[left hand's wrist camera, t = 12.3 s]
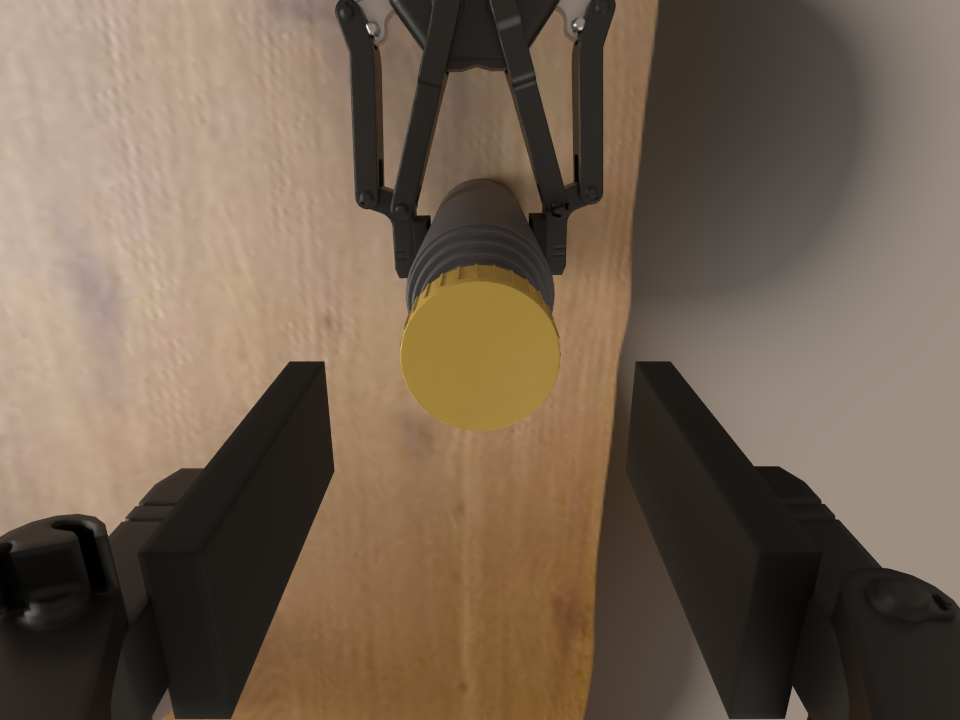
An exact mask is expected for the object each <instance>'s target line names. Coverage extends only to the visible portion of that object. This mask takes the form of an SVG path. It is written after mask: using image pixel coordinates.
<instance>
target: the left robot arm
mask: <svg viewBox="0 0 960 720" xmlns="http://www.w3.org/2000/svg"><path fill="white" fill-rule="evenodd" d="M333 473H334V461H333V450H332V439H331V428H330V418H329V407H328V396H327V385H326V374H325V363H324V362H289V363H288V364H287V365H286V367H285V368H284V369H283V370H282V372H281V373H280V374H279V375H278V377H277V378H276V379H275V380H274V382H273V383H272V384H271V385H270V387H269V388H268V389H267V390H266V392H265V393H264V394H263V396H262V397H261V398H260V399H259V401H258V402H257V403H256V404H255V406H254V407H253V408H252V409H251V411H250V412H249V413H248V414H247V416H246V417H245V418H244V419H243V421H242V422H241V423H240V424H239V426H238V427H237V428H236V429H235V431H234V432H233V433H232V434H231V436H230V437H229V438H228V439H227V441H226V442H225V443H224V444H223V446H222V447H221V448H220V449H219V451H218V452H217V453H216V454H215V456H214V457H213V458H212V459H211V461H210V462H209V463H208V464H207V466H206V467H205V468H204V469H180V470H178V471H177V472H175V473H173V474H172V475H170V476H168V477H167V478H165V479H163V480H162V481H160V482H159V483H157V484H155V486H154V487H153V488H152V489H151V490H150V491H149V492H148V493H147V494H146V496H145V497H144V498H143V499H142V500H141V501H140V502H139V506H136V507H135V508H134V509H133V510H132V511H131V512H130V513H129V515H128V516H127V517H126V518H125V522H121V523H120V525H119V526H118V527H117V528H116V529H115V530H114V531H113V532H112V533H111V535H110V536H109V537H108V534H107V530H106V526H105V524H104V523H103V522H102V521H100V520H99V519H97V518H96V517H93V516H87V515H81V514H73V515H60V516H54V517H50V518H46V519H42V520H38V521H34V522H31V523H29V524H26V525H24V526H21V527H19V528H17V529H14V530H12V531H10V532H8V533H6V534H4V535H3V536H1V537H0V720H162V719H163V718H164V717H165V716H166V715H167V714H168V713H169V712H170V711H171V710H172V709H173V712H174V716H175V719H231V717H232V715H233V712H234V710H235V707H236V705H237V703H238V700H239V698H240V695H241V693H242V691H243V688H244V686H245V684H246V681H247V679H248V676H249V674H250V672H251V669H252V667H253V664H254V662H255V660H256V657H257V655H258V652H259V650H260V648H261V645H262V643H263V640H264V638H265V636H266V633H267V631H268V629H269V626H270V624H271V621H272V619H273V617H274V614H275V612H276V609H277V607H278V605H279V602H280V600H281V597H282V595H283V593H284V590H285V588H286V585H287V583H288V581H289V578H290V576H291V574H292V571H293V569H294V566H295V564H296V562H297V559H298V557H299V554H300V552H301V550H302V547H303V545H304V542H305V540H306V538H307V535H308V533H309V530H310V528H311V526H312V523H313V521H314V519H315V516H316V514H317V511H318V509H319V507H320V504H321V502H322V499H323V497H324V495H325V492H326V490H327V487H328V485H329V483H330V480H331V478H332V475H333ZM626 473H627V475H628V478H629V480H630V483H631V485H632V487H633V490H634V492H635V495H636V497H637V499H638V502H639V504H640V506H641V509H642V511H643V514H644V516H645V518H646V521H647V523H648V526H649V528H650V530H651V533H652V535H653V538H654V540H655V542H656V545H657V547H658V550H659V552H660V554H661V557H662V559H663V562H664V564H665V566H666V569H667V571H668V574H669V576H670V578H671V581H672V583H673V585H674V588H675V590H676V593H677V595H678V597H679V600H680V602H681V605H682V607H683V609H684V612H685V614H686V617H687V619H688V621H689V624H690V626H691V629H692V631H693V633H694V636H695V638H696V640H697V643H698V645H699V648H700V650H701V652H702V655H703V657H704V660H705V662H706V664H707V667H708V669H709V672H710V674H711V676H712V679H713V681H714V684H715V686H716V688H717V690H718V693H719V695H720V698H721V700H722V703H723V705H724V707H725V710H726V712H727V715H728V717H729V719H785V716H786V712H787V707H788V703H789V698H790V694H791V690H792V685H793V687H794V689H795V691H796V692H797V694H798V696H799V698H800V700H801V701H802V703H803V705H804V707H805V709H806V710H807V712H808V718H807V720H960V608H959V607H958V605H957V604H956V603H955V601H954V600H953V599H951V598H950V597H948V596H947V595H946V594H944V593H943V592H942V591H940V590H939V589H938V588H936V587H935V586H933V585H931V584H929V583H927V582H925V581H923V580H921V579H919V578H917V577H914V576H912V575H909V574H906V573H902V572H899V571H895V570H892V569H887V568H882V567H881V566H880V565H879V564H878V563H877V561H876V560H875V559H874V558H873V557H872V556H871V555H870V554H869V553H868V552H867V550H866V549H865V548H864V547H863V546H862V545H861V544H860V543H859V542H858V540H857V539H856V538H855V537H854V536H853V535H852V534H851V533H850V532H849V530H848V529H847V528H846V527H845V526H844V525H843V524H842V523H841V522H840V521H839V520H836V519H835V515H834V514H833V513H832V512H831V511H830V510H829V508H828V507H827V506H826V505H825V504H822V503H821V499H820V498H819V497H818V496H817V495H816V494H815V493H814V492H813V491H812V490H811V488H810V487H809V486H808V485H807V484H806V483H805V482H804V481H802V480H800V479H799V478H797V477H795V476H794V475H792V474H791V473H789V472H787V471H786V470H784V469H782V468H781V467H779V466H753V465H752V463H751V462H750V461H749V460H748V458H747V457H746V456H745V454H744V453H743V452H742V451H741V449H740V448H739V447H738V446H737V444H736V443H735V442H734V441H733V439H732V438H731V437H730V436H729V434H728V433H727V432H726V431H725V429H724V428H723V427H722V426H721V424H720V423H719V422H718V421H717V419H716V418H715V417H714V416H713V414H712V413H711V412H710V411H709V409H708V408H707V407H706V406H705V404H704V403H703V402H702V401H701V399H700V398H699V397H698V396H697V394H696V393H695V392H694V391H693V389H692V388H691V387H690V386H689V384H688V383H687V382H686V381H685V379H684V378H683V377H682V375H681V374H680V373H679V372H678V370H677V369H676V368H675V367H674V365H673V364H672V363H671V362H636V364H635V374H634V385H633V396H632V407H631V418H630V428H629V439H628V450H627V461H626Z"/></svg>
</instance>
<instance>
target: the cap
mask: <svg viewBox="0 0 960 720" xmlns="http://www.w3.org/2000/svg"><path fill="white" fill-rule="evenodd" d="M403 328H404V329H405V331H404V334H403V337H402V339H401V342H400V346H401V349H400V362H401V369H402V373H403V377H404V380H405V382H406V385H407V387H408V389H409V391H410V392H411V394H412V396H413V397H414V398H415V400H416V401H417V402H418V403H419V405H420V406H421V407H423V408H424V409H425V410H426V411H427V412H428V413H429V414H431V415H432V416H433V417H435V418H437V419H438V420H440V421H442V422H444V423H446V424H448V425H451V426H454V427H457V428H461V429H466V430H474V431H486V430H495V429H500V428H503V427H507V426H510V425H512V424H514V423H517V422H519V421H521V420H522V419H524V418H525V417H527V416H529V415H530V414H531V413H532V412H534V411H535V410H536V409H537V408H538V407H539V406H540V405H541V404H542V403H543V402H544V400H545V399H546V398H547V396H548V395H549V393H550V391H551V390H552V388H553V386H554V384H555V381H556V378H557V375H558V371H559V367H560V356H561V353H560V345H559V340H558V339H560V337H559V334H558V331H557V328H556V326H555V323H554V319H553V316H552V313H551V311H550V308H549V306H548V305H546V304H545V302H544V300H543V298H542V296H541V293H540V291H536V289H535V288H534V287H533V286H532V285H531V284H529V282H528V280H527V279H523V278H522V277H520V276H518V275H517V274H515V273H513V271H512V270H510V271H508V270H506V269H502V268H499V267H496V265H493V266H489V265H478V264H475V265H473V266H466V267H461V268H460V266H459V267H457V269H455V270H452V271H450V272H448V273H446V274H444V273H442V274H441V276H440V277H439V278H437V279H436V280H435V281H433V282H432V283H431V284H429V283H428V284H427V286H426V289H425V290H424V291H423V292H422V294H421V295H420V296H419V297H418V296H417V297H416V300H415V302H414V305H413V308H412V311H411V312H410V311H409V314H408V317H407V319H406V322H405V325H404V327H403Z"/></svg>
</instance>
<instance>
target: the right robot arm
mask: <svg viewBox="0 0 960 720" xmlns="http://www.w3.org/2000/svg"><path fill="white" fill-rule="evenodd" d="M615 6H616V4H615V0H358V1H354V0H340V1H338V3H337V5H336V8H335V13H336V18H337V20H338V23H339V26H340V28H341V31H342V34H343V37H344V39H345V42H346V45H347V48H348V50H349V54H350V79H351V104H352V129H353V154H354V179H355V198H356V202H357V204H358V205H359V206H360V207H362V208H364V209H371V210H374V211H377V212H380V213H383V214H385V215H386V216H387V217H388V218H389V219H390V220H391V222H392V226H393V239H394V254H395V269H396V271H397V273H398V276H399V278H408V275H409V271H410V269H411V266H412V264H413V262H414V260H415V257H416V255H417V253H418V251H419V249H420V247H421V245H422V243H423V241H424V239H425V237H426V234H427V232H428V230H429V228H430V226H431V218H430V215H426V216H417V210H416V209H417V207H418V200H419V196H420V192H421V187H422V183H423V179H424V175H425V170H426V166H427V162H428V158H429V153H430V149H431V145H432V140H433V136H434V132H435V128H436V123H437V119H438V115H439V111H440V106H441V102H442V98H443V94H444V90H445V87H446V83H447V79H448V75H449V72H463V71H466V70H469V69H472V68H475V67H478V68H482V69H486V70H489V71H505V75H506V78H507V82H508V85H509V88H510V91H511V94H512V98H513V102H514V105H515V109H516V112H517V116H518V119H519V123H520V127H521V130H522V134H523V137H524V141H525V145H526V148H527V152H528V155H529V159H530V163H531V166H532V170H533V173H534V177H535V180H536V184H537V188H538V191H539V195H540V198H541V202H542V213H529V226H530V228H531V230H532V232H533V234H534V236H535V238H536V240H537V242H538V245H539V247H540V249H541V251H542V253H543V255H544V257H545V259H546V261H547V263H548V265H549V268H550V271H551V274H552V275H562V273H563V271H564V269H565V266H566V237H567V219H568V217H569V215H570V214H571V213H572V212H573V211H574V210H576V209H578V208H581V207H583V206H586V205H589V204H595V203H597V202H598V201H600V199H601V198H602V195H603V46H604V42H605V39H606V36H607V33H608V30H609V27H610V24H611V21H612V18H613V14H614V11H615ZM554 10H555V11H557V12H559V13H560V14H561V15H562V17H563V20H564V34H565V36H566V37H567V38H568V39H569V40H571V41H573V42H574V45H573V52H572V109H573V169H574V182H573V183H571V184H568V185H565V186H564V185H563V181H562V177H561V173H560V170H559V166H558V162H557V158H556V154H555V151H554V147H553V143H552V139H551V136H550V132H549V128H548V124H547V120H546V117H545V113H544V109H543V105H542V101H541V98H540V94H539V90H538V86H537V82H536V76H535V71H534V67H533V64H532V60H531V56H530V52H529V48H530V47H531V45H532V44H533V42H534V41H535V39H536V37H537V36H538V34H539V33H540V31H541V30H542V28H543V27H544V25H545V24H546V22H547V21H548V19H549V17H550V16H551V14H552V13H553V11H554ZM395 14H397V15H398V16H399V18H400V19H401V21H402V22H403V23H404V25H405V26H406V28H407V29H408V30H409V32H410V33H411V35H412V36H413V38H414V39H415V40H416V42H417V43H418V45H419V46H420V47H421V49H422V50H423V56H422V61H421V65H420V70H419V75H418V83H417V89H416V93H415V98H414V102H413V107H412V111H411V116H410V120H409V125H408V129H407V134H406V139H405V143H404V148H403V152H402V157H401V161H400V166H399V170H398V175H397V180H396V184H395V189H394V190H393V189H391V188H388V187H385V186H384V149H383V108H382V68H381V57H380V52H379V48H378V46H380V45H382V44H384V43H385V42H386V40H387V38H388V22H389V20H390V18H391V17H392V16H393V15H395Z"/></svg>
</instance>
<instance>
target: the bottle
mask: <svg viewBox="0 0 960 720" xmlns="http://www.w3.org/2000/svg"><path fill="white" fill-rule="evenodd" d="M475 264H478V265H489V266H493V265H496V267H499V268H502V269H506V270H508V271H510V270H512V271H513V273H515V274H517V275H518V276H520V277H522V278H523V279H527V280H528V282H529V284H531V285H532V286H533V287H534V288H535V289H536V291H540V293H541V296H542V298H543V300H544V302H545V304H546V305H548V306H549V308H550V311H551V313H552V311H553V305H554V283H553V277H552V274H551V271H550V268H549V265H548V263H547V261H546V259H545V257H544V255H543V253H542V251H541V249H540V247H539V245H538V242H537V240H536V238H535V236H534V234H533V232H532V230H531V228H530V226H529V224H528V222H527V220H526V217H525V215H524V213H523V211H522V209H521V207H520V205H519V203H518V201H517V199H516V198H515V196H514V195H513V194H512V193H511V192H510V191H509V190H508V189H507V188H505V187H504V186H502V185H501V184H499V183H497V182H494V181H491V180H486V179H475V180H470V181H466V182H464V183H461V184H459V185H458V186H456V187H455V188H453V189H452V190H451V191H450V192H449V193H448V194H447V195H446V197H445V198H444V200H443V201H442V203H441V205H440V207H439V209H438V211H437V214H436V216H435V218H434V220H433V222H432V224H431V226H430V228H429V230H428V232H427V234H426V237H425V239H424V241H423V243H422V245H421V247H420V249H419V251H418V253H417V255H416V257H415V260H414V262H413V264H412V266H411V269H410V271H409V275H408V279H407V285H406V302H407V308H408V314H409V311H410V312H411V311H412V308H413V305H414V302H415V300H416V297H417V296H418V297H419V296H420V295H421V294H422V292H423V291H424V290H425V289H426V286H427V284H428V283H429V284H431V283H432V282H433V281H435V280H436V279H437V278H439V277H440V276H441V274H442V273H444V274H446V273H448V272H450V271H452V270H455V269H457V267H459V266H460V268H461V267H466V266H473V265H475Z"/></svg>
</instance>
